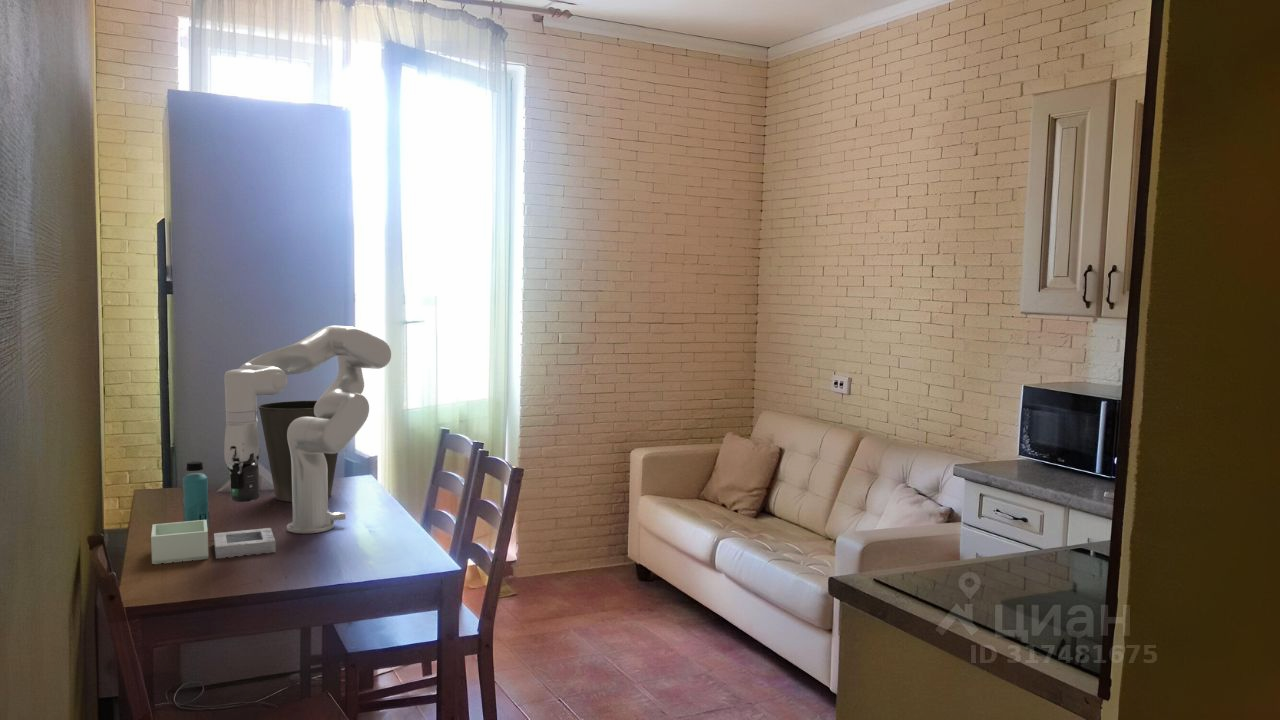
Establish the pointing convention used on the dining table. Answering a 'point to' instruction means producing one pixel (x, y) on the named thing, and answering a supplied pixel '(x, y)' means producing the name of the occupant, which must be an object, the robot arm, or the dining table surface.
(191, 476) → the beverage bottle
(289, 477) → the waste basket
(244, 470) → the supplement bottle
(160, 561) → the bin
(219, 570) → the dining table surface
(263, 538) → the socket block
